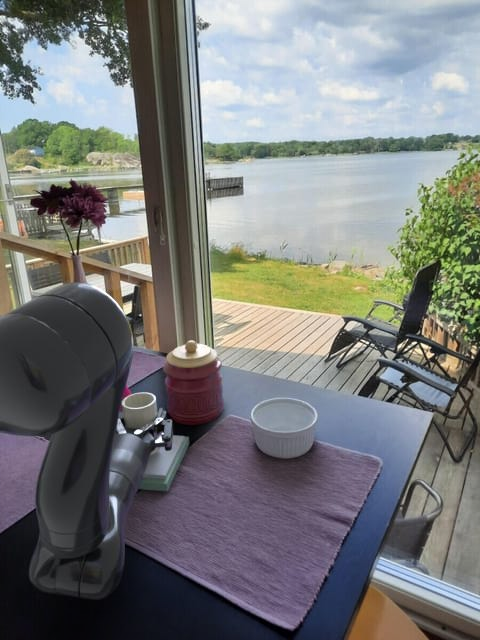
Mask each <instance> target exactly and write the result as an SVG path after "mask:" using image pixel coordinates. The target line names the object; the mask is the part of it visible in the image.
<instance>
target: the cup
mask: <svg viewBox="0 0 480 640" xmlns="http://www.w3.org/2000/svg"><path fill="white" fill-rule="evenodd" d="M122 409H123V416H124V423H125V428H124V429H126V428H142V427H143V426H144V425H146V424H147V423H148V422H151V423H152V422H153V421H154V420H155V419H156V416H157V414H158V404H157V397H156V395H155V394H153V393H151V392H147V391H145V392H143V391H142V392H135V393H132V395H129V396H127V397H126V398H124V400H123V401H122ZM156 429H157V427H156ZM160 435H161V434H160ZM160 435H159V436H158V437H157V439H159V437H160ZM160 448H161V447H158V448H155V450H154V451H153V452H152V453H151V454H150V455H153V454H155V453H156V452H157V451H159V449H160Z"/></svg>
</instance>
